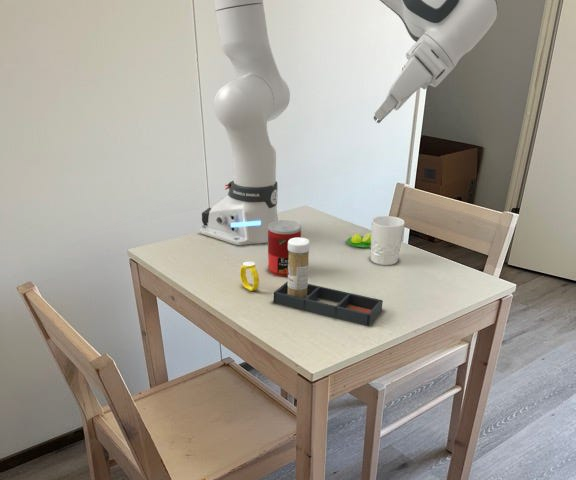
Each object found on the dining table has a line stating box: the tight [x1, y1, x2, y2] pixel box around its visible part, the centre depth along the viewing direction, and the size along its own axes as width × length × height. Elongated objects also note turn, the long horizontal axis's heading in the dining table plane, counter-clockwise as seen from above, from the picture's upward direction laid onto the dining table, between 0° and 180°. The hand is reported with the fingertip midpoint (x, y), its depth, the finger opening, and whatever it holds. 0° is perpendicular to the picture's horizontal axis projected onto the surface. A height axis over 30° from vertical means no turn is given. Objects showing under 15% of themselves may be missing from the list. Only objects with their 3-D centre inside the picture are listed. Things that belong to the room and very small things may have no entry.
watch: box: [239, 261, 260, 292], centre depth 133 cm, size 6×3×6 cm, turn 35°
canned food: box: [267, 219, 302, 277], centre depth 141 cm, size 8×8×11 cm
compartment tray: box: [273, 280, 384, 327], centre depth 127 cm, size 22×8×2 cm, turn 63°
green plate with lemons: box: [346, 232, 371, 249], centre depth 159 cm, size 8×8×3 cm
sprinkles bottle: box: [287, 237, 311, 298], centre depth 127 cm, size 5×5×13 cm
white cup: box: [370, 215, 406, 266], centre depth 147 cm, size 8×8×10 cm
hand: (376, 119), depth 123 cm, fingers open, 8 cm apart
